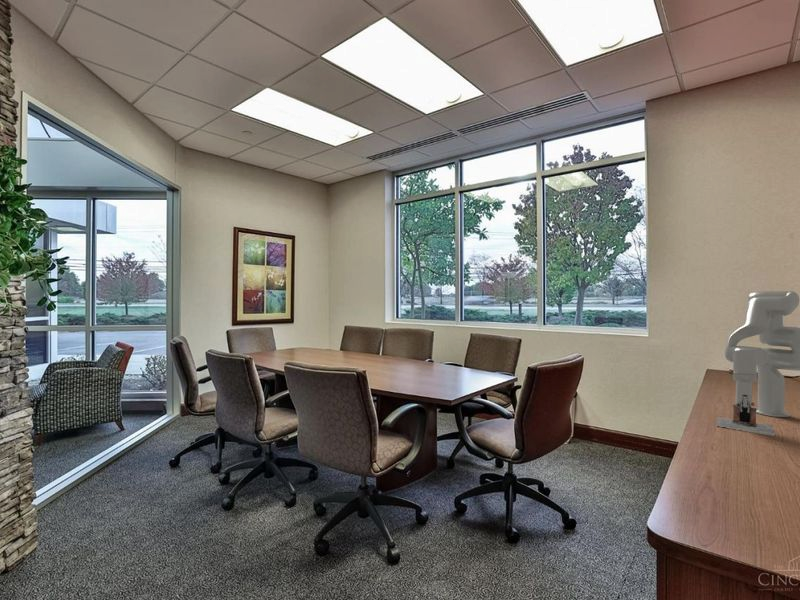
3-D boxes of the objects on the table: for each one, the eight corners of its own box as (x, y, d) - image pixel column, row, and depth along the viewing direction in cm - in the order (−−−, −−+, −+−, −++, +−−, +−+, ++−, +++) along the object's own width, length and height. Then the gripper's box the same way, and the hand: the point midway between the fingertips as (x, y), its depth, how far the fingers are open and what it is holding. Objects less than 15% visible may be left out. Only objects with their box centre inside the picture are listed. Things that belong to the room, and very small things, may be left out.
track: (717, 420, 178) (717, 416, 178) (771, 429, 167) (771, 424, 167) (716, 426, 169) (716, 422, 169) (774, 436, 157) (774, 431, 157)
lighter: (730, 422, 171) (731, 398, 171) (735, 421, 172) (735, 398, 172) (753, 427, 163) (754, 403, 163) (758, 426, 165) (758, 402, 165)
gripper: (732, 373, 177) (732, 414, 177) (733, 378, 164) (733, 423, 164) (755, 375, 172) (754, 418, 172) (758, 381, 159) (757, 426, 159)
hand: (744, 420), depth 168 cm, fingers closed on lighter, 4 cm apart
